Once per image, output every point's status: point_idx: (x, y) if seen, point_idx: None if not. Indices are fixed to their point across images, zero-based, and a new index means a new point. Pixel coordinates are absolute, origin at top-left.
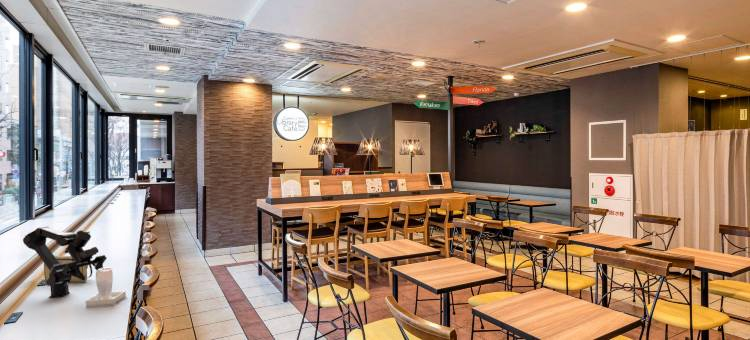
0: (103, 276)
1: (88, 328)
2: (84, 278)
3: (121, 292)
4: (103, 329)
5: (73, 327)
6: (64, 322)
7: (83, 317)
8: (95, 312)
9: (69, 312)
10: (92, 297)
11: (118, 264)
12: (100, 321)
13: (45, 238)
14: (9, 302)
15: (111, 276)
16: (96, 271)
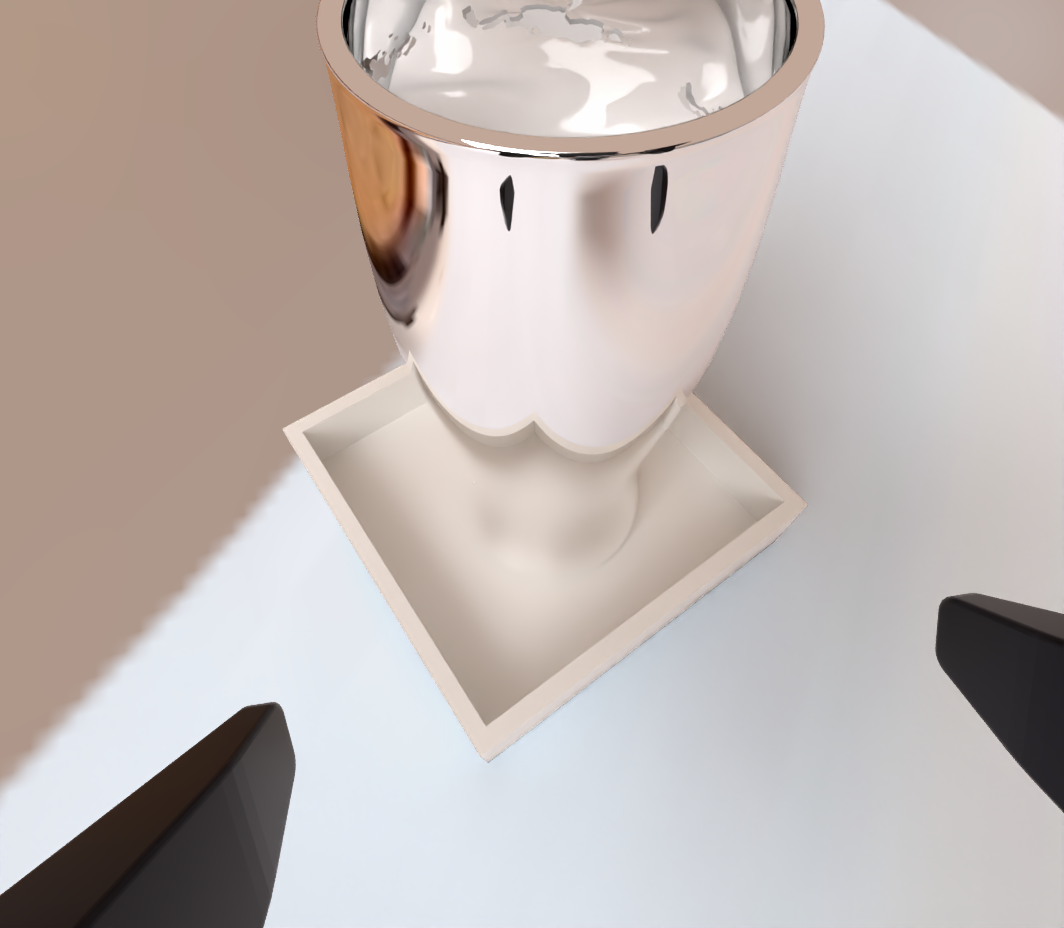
0: (660, 74)
1: (908, 79)
2: (990, 600)
3: (322, 464)
4: (841, 18)
5: (991, 156)
6: (1045, 294)
7: (885, 272)
8: (765, 298)
9: (973, 534)
10: (686, 577)
11: None
12: (810, 115)
13: None
14: None
15: (479, 115)
16: (819, 30)
